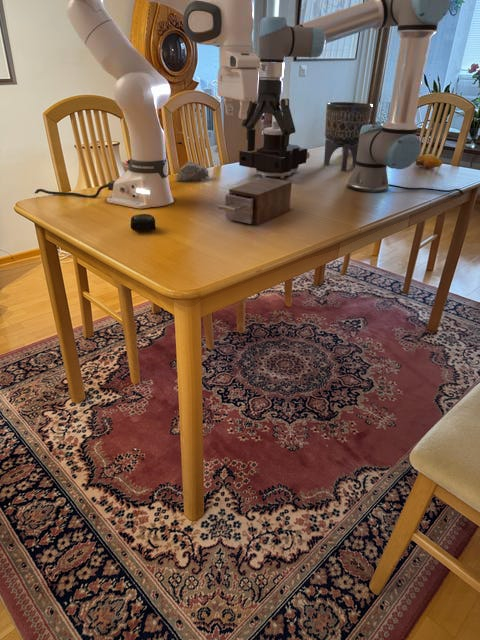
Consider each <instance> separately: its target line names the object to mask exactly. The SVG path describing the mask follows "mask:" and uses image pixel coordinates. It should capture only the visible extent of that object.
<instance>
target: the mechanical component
mask: <svg viewBox="0 0 480 640" xmlns="http://www.w3.org/2000/svg"><path fill="white" fill-rule="evenodd" d="M281 134H282V132H281V129H280V127H279V125H278V123H277V121H276V120H272V126H271V127H265V128H264V129H263V145H262V146H258V147H257V148H256V150H255V151H247V150H245V149H241V150H239V153H238V154H239V155H238V157H239V159H238V166H240V167H245V168H250V169H255V173H256V174H257V175H261V178H264V177H279V178H280V179H285V176H291V175H292V173H298V171H299V167H300V165H303V164H304V165H305V164H307V160H309V158H310V156H311V154H310V152H309V151H308V148H304V147H301V146H299V145H297V144H290V143H289V145H288V146H287V154H286V157H282V158H279V148H280V135H281Z"/></svg>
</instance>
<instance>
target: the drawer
mask: <svg viewBox="0 0 480 640" xmlns="http://www.w3.org/2000/svg"><path fill="white" fill-rule="evenodd" d="M254 205H255V198H254V197H249V196H244V195H239V194H233V195H230V194H229V193H227V194H225V203H223V204H222V203H219V204H218V205H217V209H218V210H220V211H221V210H222V211H224V212H225V214H224V215H225V219H227V220H232V221H236V222H241V223H244V224H250V225H252V224H251V223H252V220H253V219H254Z"/></svg>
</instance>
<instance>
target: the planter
mask: <svg viewBox="0 0 480 640" xmlns="http://www.w3.org/2000/svg"><path fill="white" fill-rule="evenodd" d="M373 107H374V106H373V104H372V103H367V102H353V101H333V102H327V103H326V109H325V124H324V125H325V126H324V139H325V144H324V156H323V157H324V158H323V165H325V166H328V165H330V163H331V158H332V156H333V154H334V153H335V151H336V150H337V149H340V148H341V152H342V153H341V166H340V170H341V172H345V171H347V167H348V166H347V165H348V159H349V153H348V152H349V150H350V151H351V153H352V154H351V153H350V154H351V157H352V158H351V159H352V160H351V161H352V166H353V167H355V165H356V158H357V151H358V144H359V135H360V131H361V128H362V126H364V125H370V121H371V116H372V112H373Z"/></svg>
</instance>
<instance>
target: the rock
mask: <svg viewBox="0 0 480 640" xmlns="http://www.w3.org/2000/svg"><path fill="white" fill-rule="evenodd" d="M209 177H210V175H209V171H208V169H207V168H206V167H205V166H202V165H201V164H199V163H194V162H192V161H190V160H187V161H186V163H185V164H184V165H182V166H181V167H180V168H179V169H178V171H177V175H176V180H177V181H178V182H179V181H180V182H185V183H191V182H201V181H202V180H204V179H206V178H209Z"/></svg>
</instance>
